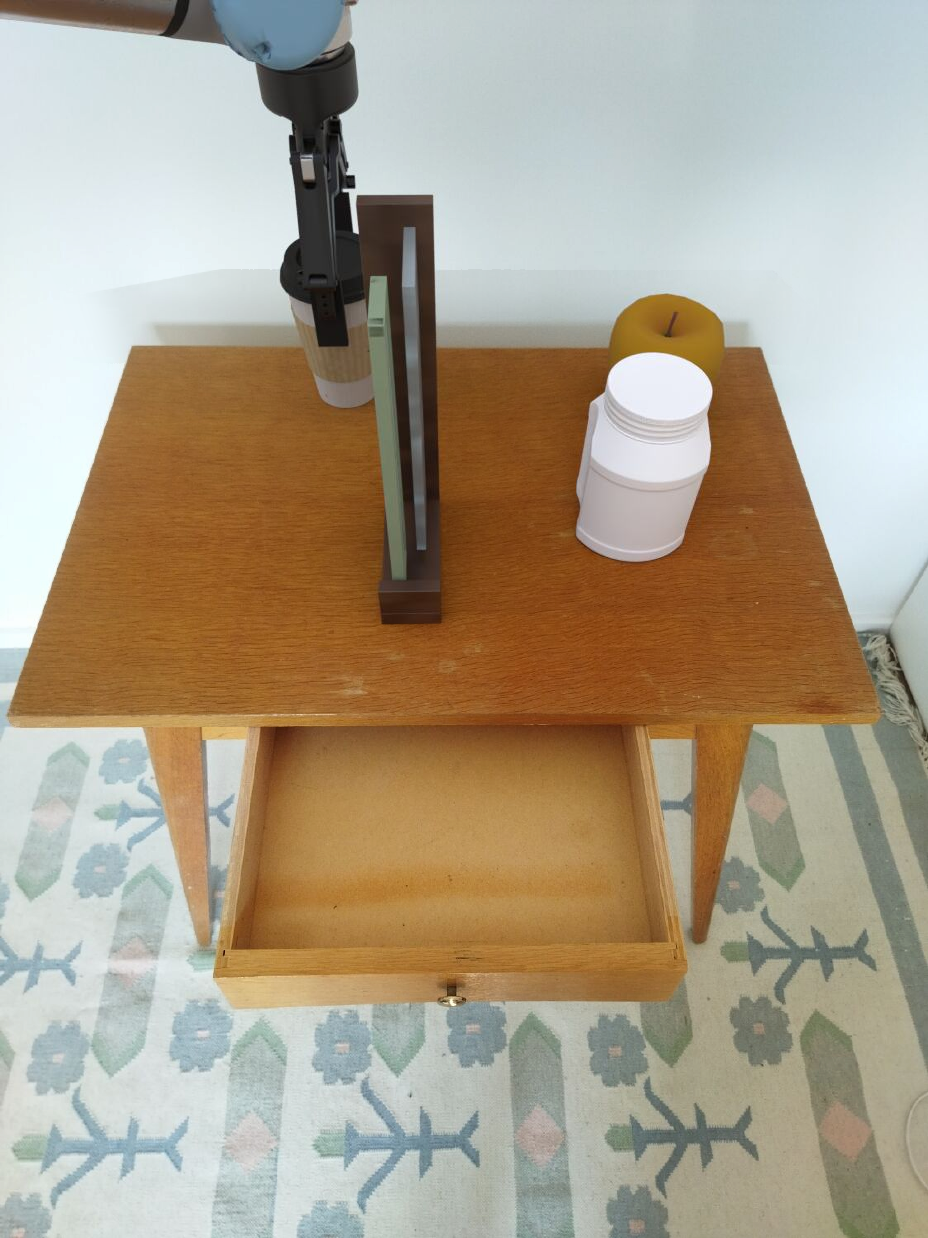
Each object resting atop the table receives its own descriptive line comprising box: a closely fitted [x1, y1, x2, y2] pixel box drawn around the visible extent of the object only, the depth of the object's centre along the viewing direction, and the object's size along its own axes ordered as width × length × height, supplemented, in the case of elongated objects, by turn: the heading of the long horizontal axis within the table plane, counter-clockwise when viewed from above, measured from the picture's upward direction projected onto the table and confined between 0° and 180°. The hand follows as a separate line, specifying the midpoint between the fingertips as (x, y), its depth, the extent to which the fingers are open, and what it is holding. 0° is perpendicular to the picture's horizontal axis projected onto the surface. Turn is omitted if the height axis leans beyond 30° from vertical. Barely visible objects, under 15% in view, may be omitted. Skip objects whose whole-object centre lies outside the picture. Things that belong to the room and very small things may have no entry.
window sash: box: [367, 276, 407, 580], centre depth 59 cm, size 1×5×26 cm, turn 2°
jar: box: [575, 353, 713, 563], centre depth 70 cm, size 12×10×15 cm
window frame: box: [355, 194, 442, 625], centre depth 61 cm, size 5×14×29 cm, turn 1°
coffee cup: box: [279, 230, 374, 409], centre depth 81 cm, size 10×10×15 cm
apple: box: [607, 293, 726, 389], centre depth 79 cm, size 11×11×13 cm
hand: (338, 299), depth 78 cm, fingers open, 13 cm apart
